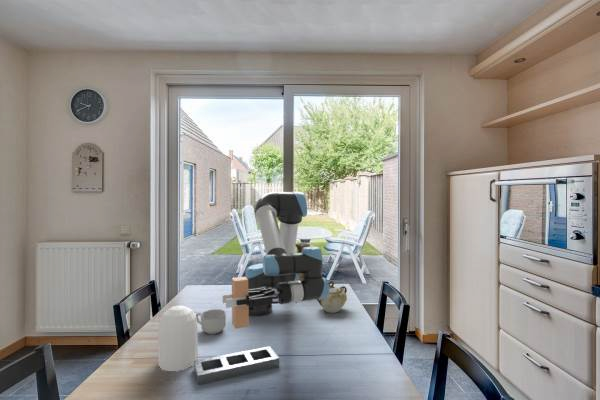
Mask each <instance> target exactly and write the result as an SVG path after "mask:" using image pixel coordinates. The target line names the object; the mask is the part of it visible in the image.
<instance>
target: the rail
mask: <svg viewBox="0 0 600 400" xmlns="http://www.w3.org/2000/svg"><path fill="white" fill-rule="evenodd" d="M275 368H280V357H279V356H278V354H277V353H276V352H275V351H274V349H273V348H272V347H271V346H270V345H269V346H263V347H258V348H257V347H256V348H253V349H248V350H242V351H238V352H232V353H227V354H222V355H216V356H211V357H208V358H207V357H206V358H201V359H198V360H196V361H194V366H193V370H194V374H195V379H196V382H197V385H198V386H199V385H203V384H207V383H213V382H217V381H221V380H226V379H231V378H234V377H235V378H236V377H239V376H244V375H248V374H253V373H257V372H263V371H266V370H271V369H275Z"/></svg>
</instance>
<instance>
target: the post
mask: <svg viewBox="0 0 600 400" xmlns="http://www.w3.org/2000/svg"><path fill="white" fill-rule="evenodd" d="M231 294H232V298H238V297H246V295H248V279H247V278H246V277H245V276H238V277H231ZM231 318H232V319H231V324H232V326H233V327H234V328H235V329H241V328H248V327H249V326H250V322H249V321H250V315H249V305H243V306H236V307H231Z"/></svg>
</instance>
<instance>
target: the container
mask: <svg viewBox="0 0 600 400" xmlns="http://www.w3.org/2000/svg"><path fill="white" fill-rule="evenodd" d="M157 339H158V340H157V345H158V347H157V349H158V353H157V354H158V367H159V366H160V368H161V369H164V370H168V371H176V372H180V371H179V370H182V371H184V370H183V369H185V370H188V369H190V368H192V367H194V366H193V365H194V361H196V360H199V354H198V352H199V350H198V345H199V344H198V343H199V342H198V339H199V338H198V322H197V319H196V313H195V312H194V311H193V310H192V309H191V308H189V307H188V306H185V305H174V306H171V307H170V308H169V309H167V310H166V311H164V312H163V314H162V315H161V317H160V318H159V322H158V327H157ZM191 366H192V367H191ZM189 367H190V368H189ZM160 368H159V369H160ZM187 368H188V369H187ZM161 369H160V370H161Z"/></svg>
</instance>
